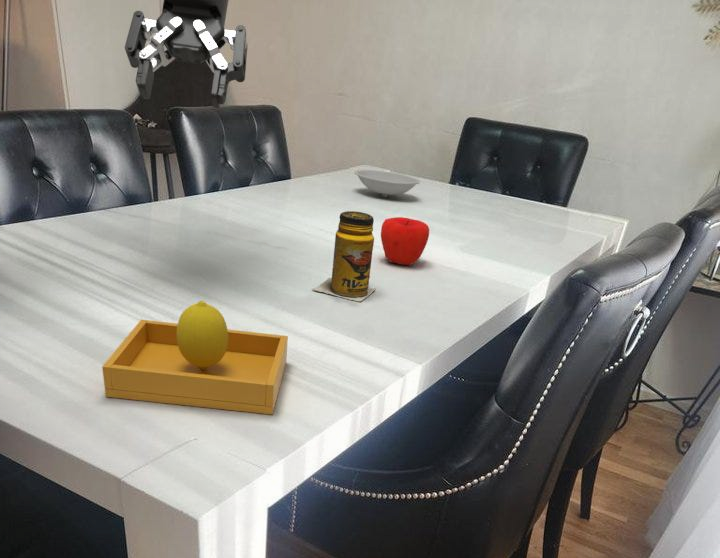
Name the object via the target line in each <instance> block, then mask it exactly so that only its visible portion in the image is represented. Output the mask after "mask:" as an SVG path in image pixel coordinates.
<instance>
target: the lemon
mask: <svg viewBox="0 0 720 558" xmlns="http://www.w3.org/2000/svg"><path fill="white" fill-rule="evenodd" d="M177 324H178V326H177V342H178V347H179V350H180V352H181V354H182V356H183V357H184V358H185V359H186V360H187V361H188V362H189V363H191V364H193V365H195V366H198V367H199V368H200V369H201V370H206V369H207V368H208V367H209V366H213V365H215V364H217V363H218V362H219V361H220V360H221V359H222V358H223V356H224V355H225V353H226V350H227V346H228V331H227V329H228V326H227V322H226V320H225V317H224V316H223V314H222V313H221V311H219V309H217V308H216V307H215V306H213V305H211V304H208V303H207V302H206V301H204V300H199V301H197V303H193V304H191V305H190V306H188V307H187V308H185V309H184V310H183V311H182V313H181V314H180V316H179V319H178V322H177Z"/></svg>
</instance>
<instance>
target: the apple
mask: <svg viewBox="0 0 720 558" xmlns="http://www.w3.org/2000/svg"><path fill="white" fill-rule="evenodd" d="M429 237H430V227H429V226H428V224H427V223H425V222H423V221H421V220H419V219H414V218H409V217H403V216H399V217H391V218H385V219H384V220H383V222H382V224H381V229H380V241H381V244H382V245H381V246H382V249H383V252H384V253H383V254H384V256H385V258H386V260H388V262H391V263H393V264H397V265H403V266H410V265H412V264H415V263H416V262H417V261H418V260H419V259H421V256H422V255H423V253H424V251H425V248H426V246H427V244H428V240H429Z"/></svg>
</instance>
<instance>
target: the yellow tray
mask: <svg viewBox="0 0 720 558" xmlns="http://www.w3.org/2000/svg"><path fill="white" fill-rule="evenodd" d="M177 326H178V323H175V322H167V321H157V320H149V319H140V320H139V321H138V323H137V324H136V325H135V326H134V327H133V329H131V331H130V332H129V333H128V335H127V336H126V337H125V338H124V339H123V341H122V342H121V343H120V344H119V345H118V347H116V349H115V350H114V352H113V353H112V354H111V355H110V356H109V358H108V359H107V360H106V361H105V363H104V364H102V367H101V369H102V376H103V377H102V378H103V384H104V392H105V397H107V398H115V399H123V400H132V401H140V402H141V401H142V402H152V403H161V404H171V405H179V406H189V407H199V408H207V409H215V410H216V409H217V410H225V411H226V410H227V411H236V412H243V413H244V412H245V413H254V414H262V415H274V410H275V406H276V403H277V399H278V396H279V392H280V389H281V384H282V381H283V376H284V373H285V368H286V365H287V360H288V359H287V355H288V341H289V340H288V339H289V335H283V334H282V335H280V334H271V333H264V332H263V333H262V332H253V331H247V330H246V331H245V330H237V329H228V328H227V331H228V346H227V350H226V353H225V355H224V356H223V358H222V359H221V360H220V361H219V362H218V363H217V364H215V365H213V366H209V367H208V368H207V369H206V370H201V369H200V368H199V367H198V366H195V365H193V364H191V363H189V362H188V361H187V360H186V359H185V358H184V357H183V356H182V354H181V352H180V350H179V347H178V342H177Z"/></svg>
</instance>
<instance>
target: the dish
mask: <svg viewBox="0 0 720 558" xmlns="http://www.w3.org/2000/svg"><path fill="white" fill-rule="evenodd" d="M354 175H356V176H357V177H358V180H359V181H360V182H361V183H362V184H363V186H364V187H365V188H367V189H368V190H370V191H371V192H372V191H373V192H374V193H378V194H380V195H381V197H383V198H388V197H389V196H397V195H398V196H399V195H404V194H405V193H408V192H409V191H410V190H412V189H413V188H414V187H416V185H418V184H420V182H421V181H420V180H419V179H418V178H415V177H412V176H409V175H406V174H401V173H396V172H391V171H384V170H374V169H358V170H355V171H354Z"/></svg>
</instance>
